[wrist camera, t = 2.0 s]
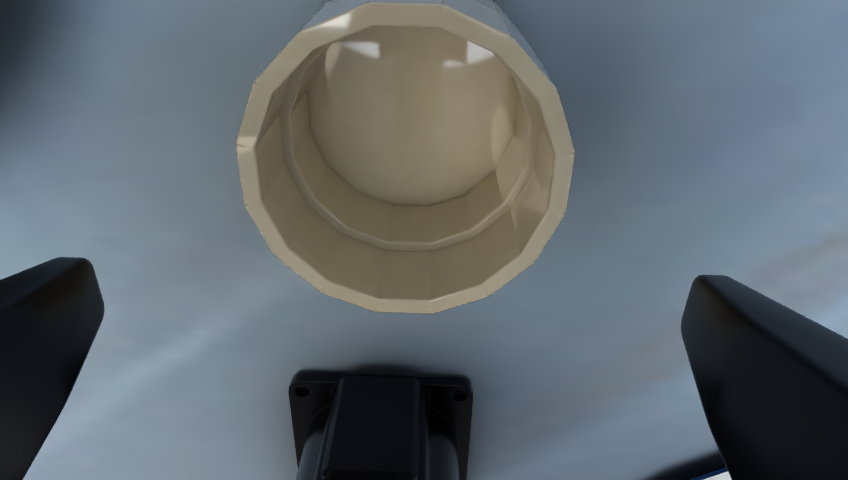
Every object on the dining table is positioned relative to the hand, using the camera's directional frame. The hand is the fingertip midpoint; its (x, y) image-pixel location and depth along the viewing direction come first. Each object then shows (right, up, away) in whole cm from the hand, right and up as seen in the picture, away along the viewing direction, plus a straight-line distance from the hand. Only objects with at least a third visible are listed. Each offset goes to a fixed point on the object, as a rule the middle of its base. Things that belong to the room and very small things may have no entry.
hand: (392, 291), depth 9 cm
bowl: (0, +5, +8) cm, 9 cm away
